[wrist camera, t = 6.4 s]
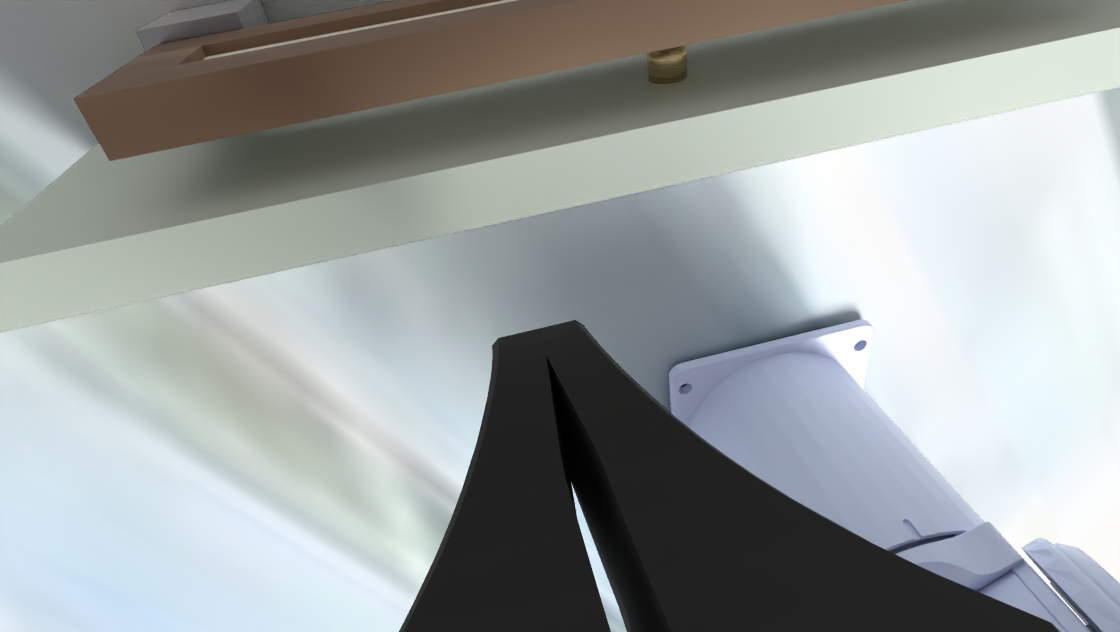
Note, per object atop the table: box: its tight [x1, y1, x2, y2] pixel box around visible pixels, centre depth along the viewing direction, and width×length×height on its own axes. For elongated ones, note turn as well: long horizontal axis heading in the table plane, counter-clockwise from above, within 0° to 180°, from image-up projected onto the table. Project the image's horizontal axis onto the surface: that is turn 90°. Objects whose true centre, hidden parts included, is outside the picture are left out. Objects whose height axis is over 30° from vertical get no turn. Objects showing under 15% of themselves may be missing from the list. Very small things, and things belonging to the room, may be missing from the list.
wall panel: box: [0, 0, 1120, 333], centre depth 14 cm, size 4×26×7 cm, turn 98°
